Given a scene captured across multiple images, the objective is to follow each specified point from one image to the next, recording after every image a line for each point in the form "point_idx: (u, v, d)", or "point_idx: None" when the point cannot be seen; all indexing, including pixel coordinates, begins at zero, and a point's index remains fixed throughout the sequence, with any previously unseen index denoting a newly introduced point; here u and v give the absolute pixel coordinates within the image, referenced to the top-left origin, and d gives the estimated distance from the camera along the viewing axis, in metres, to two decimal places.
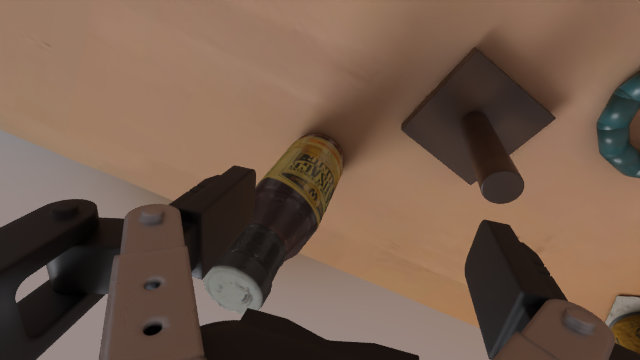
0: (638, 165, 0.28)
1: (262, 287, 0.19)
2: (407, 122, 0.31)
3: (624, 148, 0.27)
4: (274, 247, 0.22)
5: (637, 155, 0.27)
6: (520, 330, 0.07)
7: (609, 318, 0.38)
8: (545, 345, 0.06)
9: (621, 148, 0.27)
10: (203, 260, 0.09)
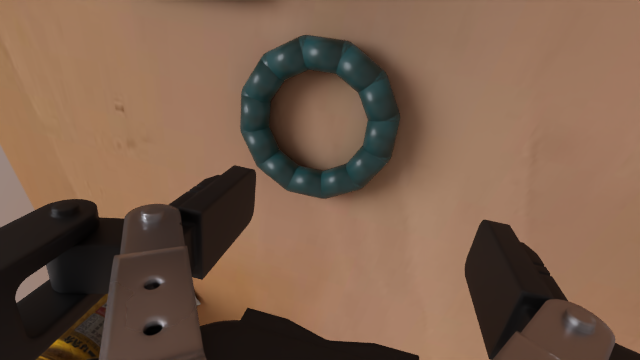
0: (252, 126, 0.23)
1: None
2: None
3: (257, 96, 0.22)
4: None
5: (261, 116, 0.22)
6: (520, 330, 0.07)
7: None
8: (545, 345, 0.06)
9: (255, 92, 0.22)
10: (203, 260, 0.09)
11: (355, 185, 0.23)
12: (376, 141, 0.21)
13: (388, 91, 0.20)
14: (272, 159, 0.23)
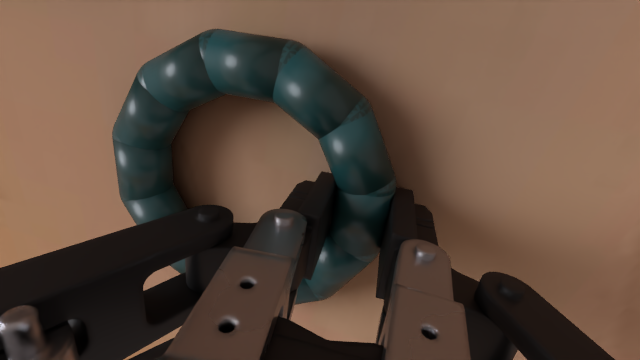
0: (134, 191, 0.13)
1: None
2: None
3: (135, 140, 0.12)
4: None
5: (148, 175, 0.13)
6: (391, 267, 0.09)
7: None
8: (413, 284, 0.07)
9: (130, 135, 0.12)
10: (313, 262, 0.10)
11: (317, 296, 0.13)
12: (352, 229, 0.11)
13: (373, 139, 0.10)
14: None
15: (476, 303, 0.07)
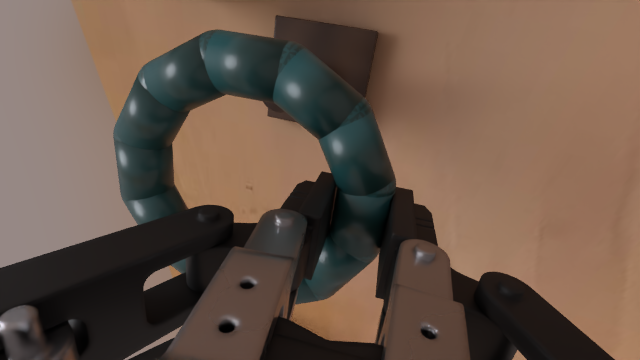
0: (135, 191, 0.13)
1: None
2: (285, 17, 0.29)
3: (136, 140, 0.12)
4: None
5: (149, 175, 0.13)
6: (391, 267, 0.09)
7: None
8: (413, 284, 0.07)
9: (131, 135, 0.12)
10: (314, 262, 0.10)
11: (317, 297, 0.13)
12: (351, 229, 0.11)
13: (373, 140, 0.10)
14: None
15: (476, 303, 0.07)
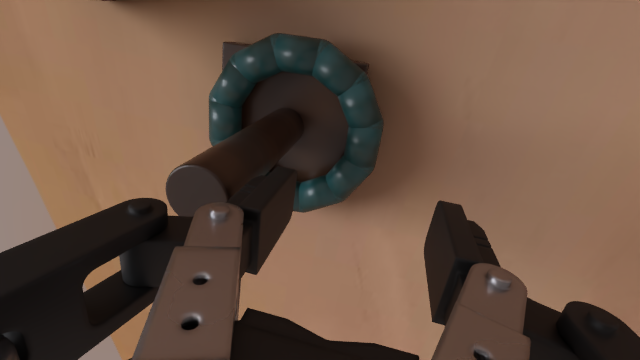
0: (221, 134, 0.20)
1: None
2: (237, 44, 0.20)
3: (226, 101, 0.20)
4: None
5: (231, 124, 0.20)
6: (454, 292, 0.08)
7: None
8: (477, 308, 0.07)
9: (223, 97, 0.19)
10: (258, 256, 0.10)
11: (336, 198, 0.21)
12: (358, 150, 0.19)
13: (370, 95, 0.18)
14: None
15: (561, 337, 0.07)
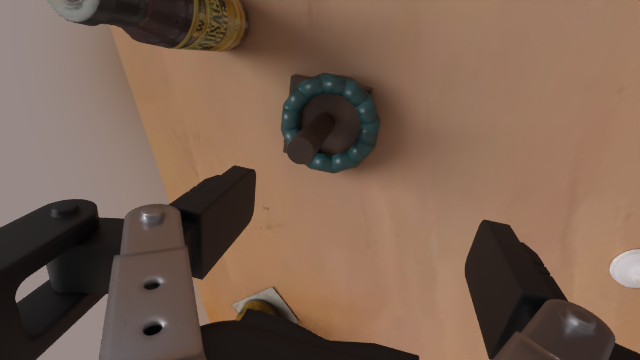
0: (289, 126, 0.36)
1: (98, 12, 0.19)
2: (299, 76, 0.36)
3: (293, 108, 0.36)
4: (136, 8, 0.22)
5: (295, 121, 0.36)
6: (520, 330, 0.07)
7: (254, 296, 0.51)
8: (545, 345, 0.06)
9: (292, 106, 0.35)
10: (203, 260, 0.09)
11: (353, 163, 0.37)
12: (366, 136, 0.35)
13: (373, 106, 0.34)
14: None
15: None
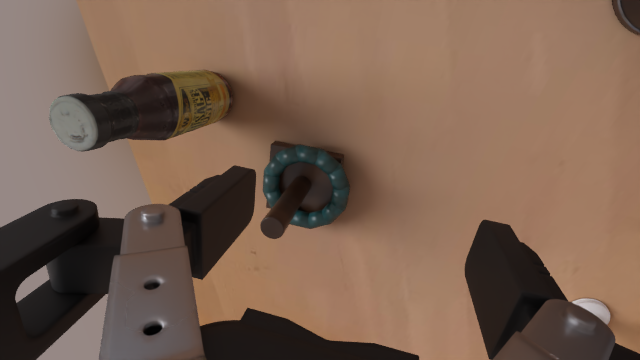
0: (270, 189, 0.41)
1: (97, 144, 0.24)
2: (278, 145, 0.41)
3: (273, 174, 0.40)
4: (128, 128, 0.26)
5: (274, 184, 0.41)
6: (520, 330, 0.07)
7: None
8: (545, 345, 0.06)
9: (271, 173, 0.40)
10: (203, 260, 0.09)
11: (327, 222, 0.41)
12: (337, 200, 0.39)
13: (342, 175, 0.38)
14: None
15: None
